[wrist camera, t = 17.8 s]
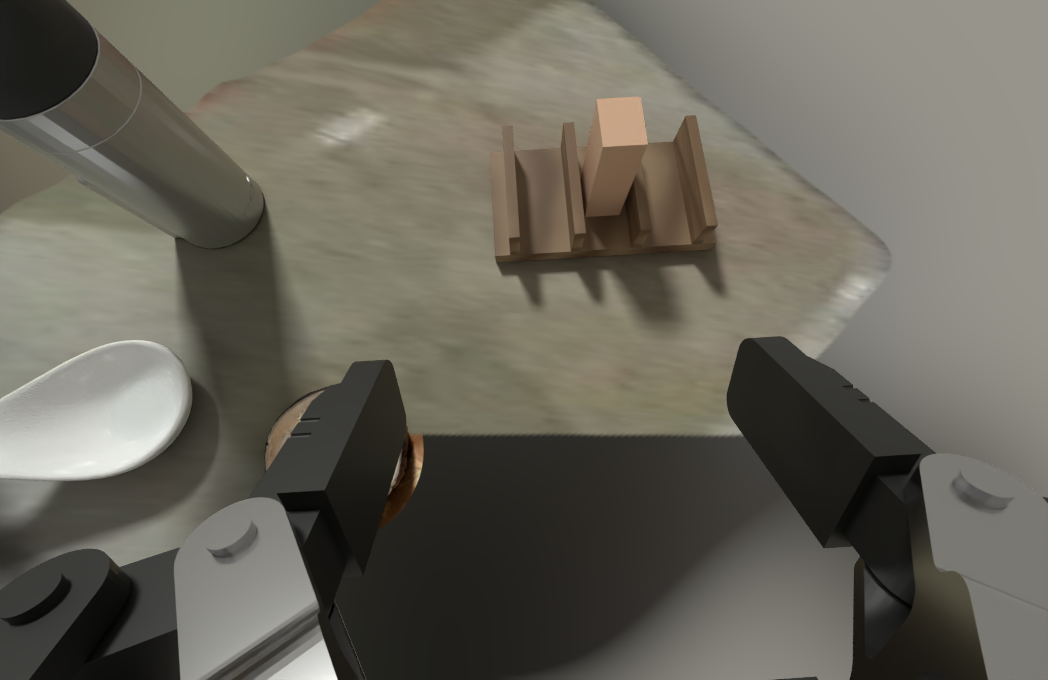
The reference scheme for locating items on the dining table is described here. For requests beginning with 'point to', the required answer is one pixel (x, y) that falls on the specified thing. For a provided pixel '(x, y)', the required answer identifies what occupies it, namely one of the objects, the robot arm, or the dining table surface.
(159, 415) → the spoon rest
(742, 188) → the dining table surface
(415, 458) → the pie
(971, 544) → the robot arm
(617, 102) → the clay block
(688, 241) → the walnut rack
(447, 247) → the dining table surface
